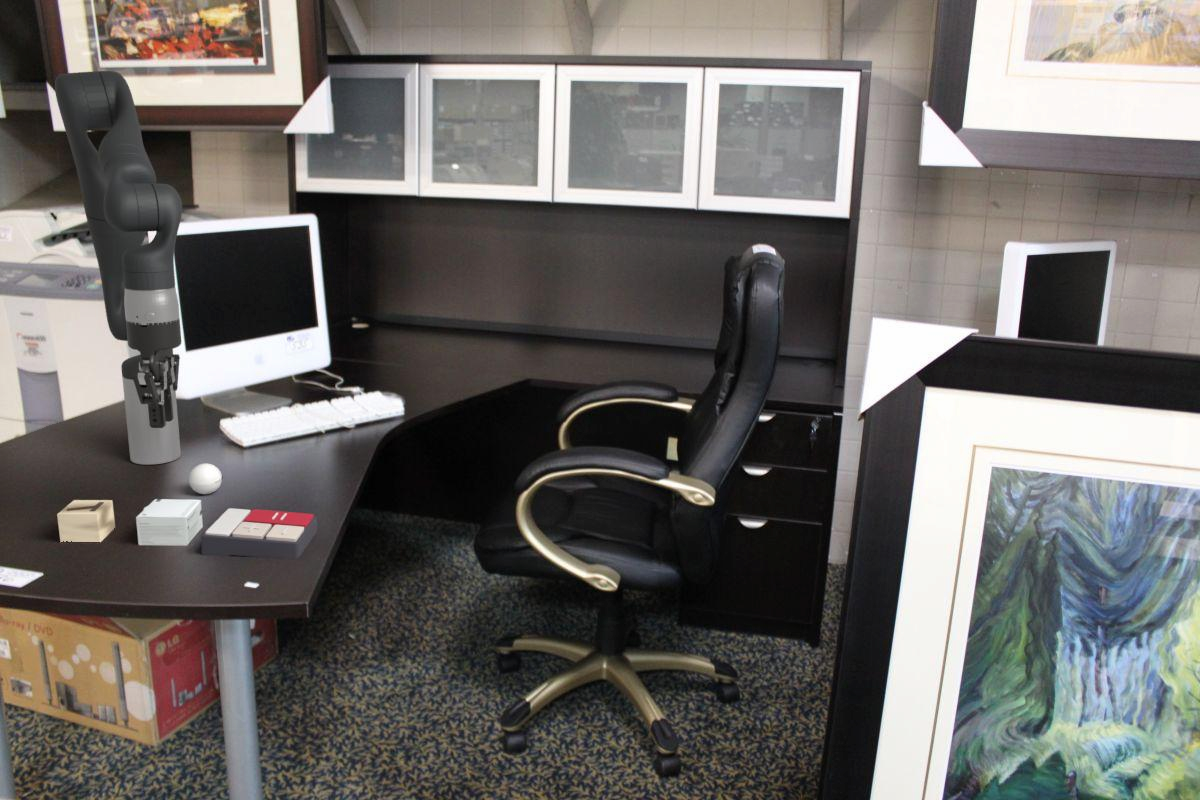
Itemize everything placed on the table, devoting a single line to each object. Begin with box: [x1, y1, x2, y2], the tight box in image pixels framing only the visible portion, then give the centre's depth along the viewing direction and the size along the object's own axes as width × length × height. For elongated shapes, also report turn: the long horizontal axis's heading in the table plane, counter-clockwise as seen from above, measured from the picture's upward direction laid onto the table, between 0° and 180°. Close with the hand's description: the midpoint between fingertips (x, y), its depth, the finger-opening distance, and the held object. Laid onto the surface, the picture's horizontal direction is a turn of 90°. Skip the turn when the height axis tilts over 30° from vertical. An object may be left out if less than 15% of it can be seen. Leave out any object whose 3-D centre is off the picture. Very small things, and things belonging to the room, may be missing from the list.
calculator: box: [201, 507, 318, 560], centre depth 153 cm, size 11×4×15 cm
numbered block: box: [56, 499, 116, 543], centre depth 152 cm, size 6×6×5 cm
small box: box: [135, 498, 204, 547], centre depth 153 cm, size 8×8×5 cm
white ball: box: [188, 462, 223, 495], centre depth 173 cm, size 8×6×6 cm
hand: (161, 423), depth 149 cm, fingers open, 3 cm apart
